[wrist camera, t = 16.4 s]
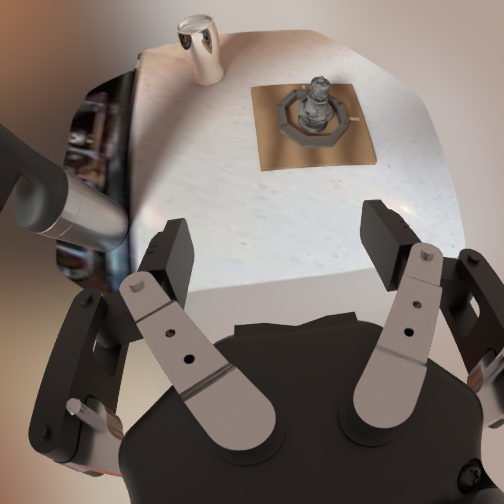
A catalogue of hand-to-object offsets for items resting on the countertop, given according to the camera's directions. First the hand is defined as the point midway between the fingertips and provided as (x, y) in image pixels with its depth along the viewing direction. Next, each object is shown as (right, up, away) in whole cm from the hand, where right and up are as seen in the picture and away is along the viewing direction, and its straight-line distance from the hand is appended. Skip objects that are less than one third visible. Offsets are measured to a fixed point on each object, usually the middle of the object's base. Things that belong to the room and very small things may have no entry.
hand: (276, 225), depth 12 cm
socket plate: (+10, +22, +33) cm, 41 cm away
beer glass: (-10, +35, +37) cm, 52 cm away
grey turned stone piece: (+10, +22, +33) cm, 40 cm away
